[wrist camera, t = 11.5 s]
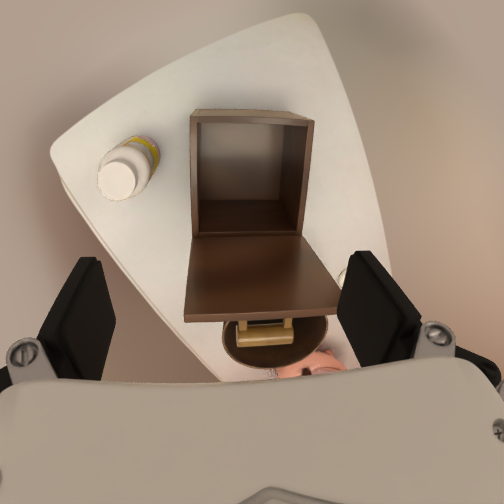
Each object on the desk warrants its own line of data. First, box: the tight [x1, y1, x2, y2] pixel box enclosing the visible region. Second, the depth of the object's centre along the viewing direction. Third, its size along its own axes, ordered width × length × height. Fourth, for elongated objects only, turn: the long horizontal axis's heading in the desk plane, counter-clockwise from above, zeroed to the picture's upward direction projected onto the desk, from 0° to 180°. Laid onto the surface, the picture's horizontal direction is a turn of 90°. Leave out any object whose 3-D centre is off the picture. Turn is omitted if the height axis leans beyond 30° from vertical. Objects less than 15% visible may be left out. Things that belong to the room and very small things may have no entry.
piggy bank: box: [276, 350, 347, 379], centre depth 63 cm, size 15×18×16 cm
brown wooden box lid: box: [184, 236, 341, 347], centre depth 32 cm, size 15×14×5 cm
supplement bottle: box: [97, 136, 160, 201], centre depth 37 cm, size 7×7×13 cm
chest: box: [190, 109, 314, 238], centre depth 39 cm, size 15×14×12 cm
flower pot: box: [222, 315, 328, 369], centre depth 48 cm, size 15×15×16 cm
